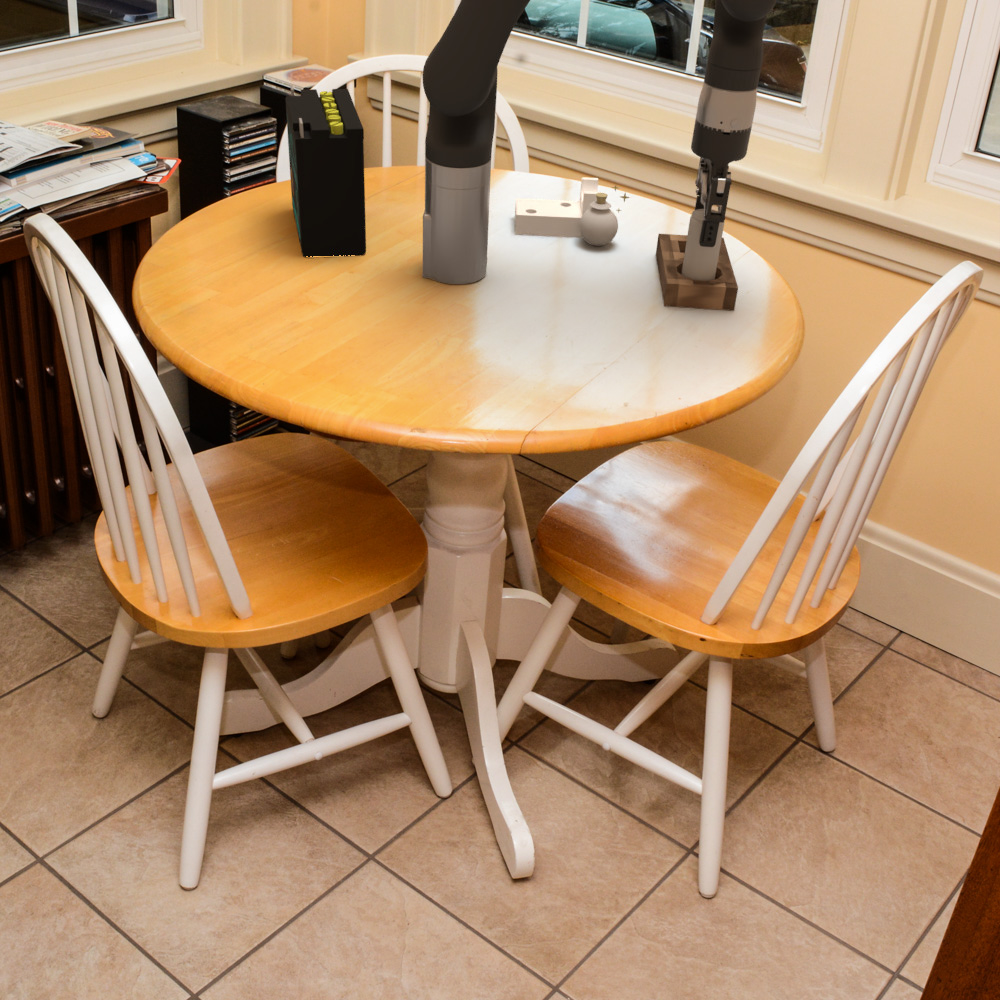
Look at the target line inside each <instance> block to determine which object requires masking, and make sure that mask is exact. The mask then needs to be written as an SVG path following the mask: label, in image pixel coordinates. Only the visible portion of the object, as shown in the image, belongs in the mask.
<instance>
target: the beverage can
mask: <svg viewBox="0 0 1000 1000" xmlns="http://www.w3.org/2000/svg"><path fill="white" fill-rule="evenodd" d="M703 211H704V209H697V210H695V209H694V210H693V211H692V213H691V216H690V217H689V223H688V228H687V234H686V235H687V242H686V248H685V255H684V261H683V268H682V274H681V275H682V276H684V277H686V278H690V279H693V280H701V281H710V280H715V274H716V268H717V263H718V257H719V251H720V245H721V240H722V238H723V235H724V234H723V233H724V227H725V221H724V222H723V223H721V222H720V223H719V228H718V233H717V238H716V244H715V246H714V247H702V246H700V244H699V239H700V233H701V227H702V222H703V218H702V216H703ZM711 212H715V213H718V210H716V209H715V210H714V209H711Z"/></svg>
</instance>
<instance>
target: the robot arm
mask: <svg viewBox="0 0 1000 1000" xmlns="http://www.w3.org/2000/svg"><path fill="white" fill-rule="evenodd" d="M777 1H778V0H715V5H714V6H715V7H714V15H713V16H714V17H713V29H712V38H711V43H710V48H709V51H708V54H707V61H706V67H705V72H704V79H703V83H702V87H701V91H700V94H699V98H698V102H697V107H696V109H697V110H696V115H695V121H694V127H693V133H692V139H691V145H690V148H691V152H693V154H694V155H696V156H698V157H699V158H700V159H699V163H698V169H697V174H696V179H695V183H694V184H695V187H696V188H695V194H696V200H695V205H694V210H697V209H704V211H703V216H702V218H703V222H702V227H701V233H700V239H699V244H700V246H702V247H714V246H715V244H716V238H717V233H718V228H719V223H720V222H721V223H723V222H724V223H725V220H726V212H727V206H728V200H729V197H730V190H731V186H732V178H731V177H732V171H729V169H730V167H729V164H730V163H733V162H739V161H741V160H743V159H744V158H745V157H746V156H747V153H748V148H749V142H750V138H751V133H752V132H751V131H752V127H753V123H754V118H755V117H754V116H755V112H756V107H757V95H758V93H757V92H758V86H759V82H760V78H761V77H760V76H761V71H762V66H763V60H764V41H763V38H764V32H765V26H766V23H767V22H766V21H767V15H769V13H771V11H772V10H773V9H774V7H775V6H776V3H777ZM530 2H531V0H460V2H459V4H458V6H457V7H456V10H455V12H454V14H453V15H452V18H451V19H450V22H448V25H447V27H446V29H444V32H443V33H442V35H441V37H440V39H439V41H437V42H436V44H435V46H434V47H433V48H432V50H431V51H430V53H429V54H428V56H427V58H426V59H425V63H424V65H423V68H422V69H423V70H422V87H423V90H424V94H425V96H426V98H427V101H428V103H429V112H428V113H429V114H428V119H427V120H428V122H427V129H426V134H425V140H424V141H425V143H424V145H425V147H424V148H425V149H424V152H425V153H424V155H425V156H424V157H425V158H424V159H425V161H424V162H425V163H424V170H425V171H424V211H423V215H422V278H425V279H431V280H433V281H435V282H438V283H439V282H440V283H443V284H448V285H464V284H472V283H475V282H478V281H480V280H482V279H483V278H484V277H485V276H486V275H487V266H488V264H487V263H488V243H489V241H488V240H489V239H488V238H489V219H490V218H489V217H490V200H491V199H490V198H491V197H490V196H491V195H490V193H491V171H492V170H491V169H492V151H493V149H492V148H493V142H494V136H495V135H494V134H495V126H496V109H497V108H496V107H497V92H498V91H497V89H498V65H499V62H500V60H501V57H502V56H503V52H504V49H505V47H506V45H507V42H508V40H509V38H510V35H511V33H512V31H513V30H514V27H515V26H516V24H517V22H518V20H519V19H520V17H521V15H522V14H523V12H524V11H525V9H526V7H528V5H529V3H530ZM713 206H716V207H717V211H718V213H715V212H711V209H712V207H713ZM712 210H713V209H712Z"/></svg>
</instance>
